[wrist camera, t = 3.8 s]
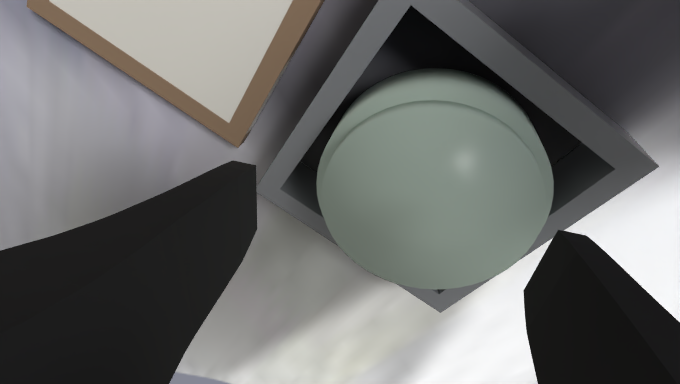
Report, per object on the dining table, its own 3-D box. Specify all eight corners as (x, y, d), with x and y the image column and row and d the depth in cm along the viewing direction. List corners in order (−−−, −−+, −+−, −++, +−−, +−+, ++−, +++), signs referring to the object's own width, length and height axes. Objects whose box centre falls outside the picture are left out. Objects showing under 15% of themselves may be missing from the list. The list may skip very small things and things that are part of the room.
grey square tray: (627, 132, 17) (659, 166, 15) (440, 273, 24) (440, 312, 21) (412, -47, 15) (406, -43, 13) (274, 161, 22) (253, 190, 19)
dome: (591, 158, 16) (621, 204, 13) (438, 274, 21) (437, 324, 18) (413, 17, 14) (407, 37, 12) (296, 178, 20) (273, 217, 17)
